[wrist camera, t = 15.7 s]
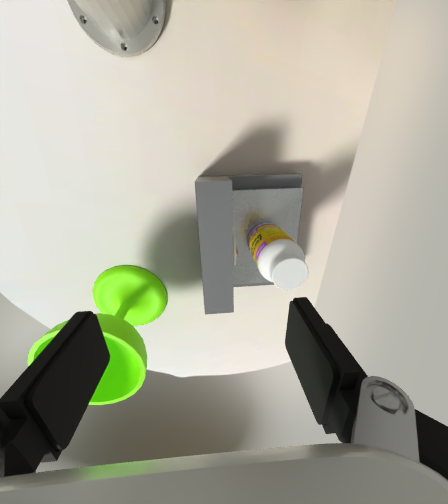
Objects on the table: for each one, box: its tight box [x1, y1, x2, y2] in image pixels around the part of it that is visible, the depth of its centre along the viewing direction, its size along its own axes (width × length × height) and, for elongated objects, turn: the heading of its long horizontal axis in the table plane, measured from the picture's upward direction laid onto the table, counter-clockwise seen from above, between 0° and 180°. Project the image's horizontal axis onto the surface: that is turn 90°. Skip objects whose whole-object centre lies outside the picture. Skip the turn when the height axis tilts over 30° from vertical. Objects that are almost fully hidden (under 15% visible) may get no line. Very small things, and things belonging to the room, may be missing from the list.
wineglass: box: [28, 265, 167, 405], centre depth 39 cm, size 16×16×18 cm
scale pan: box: [232, 187, 303, 285], centre depth 39 cm, size 18×12×1 cm, turn 2°
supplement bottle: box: [248, 223, 308, 290], centre depth 32 cm, size 7×7×13 cm
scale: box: [195, 173, 302, 314], centre depth 38 cm, size 22×18×11 cm
